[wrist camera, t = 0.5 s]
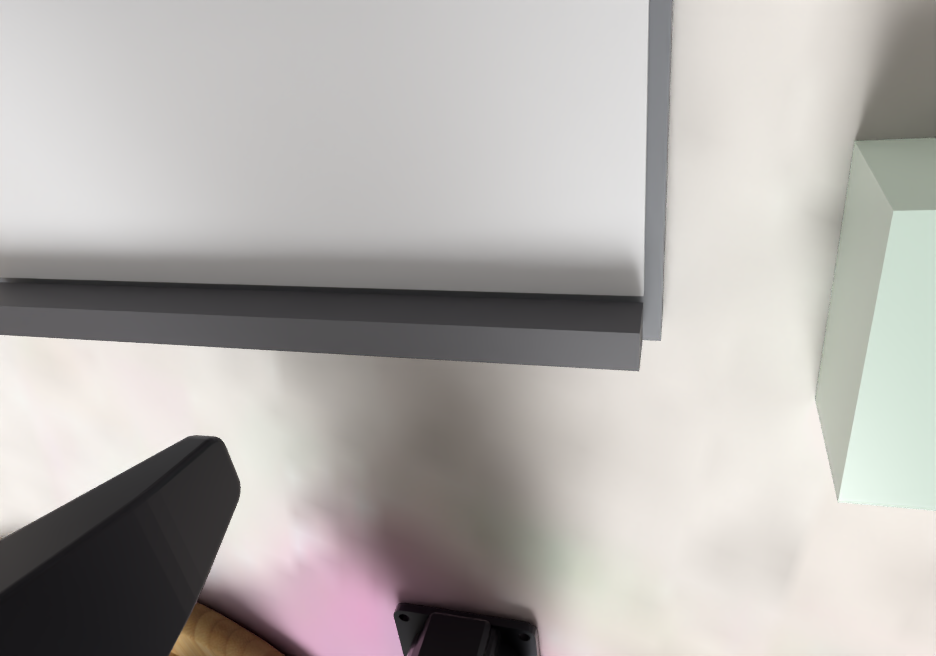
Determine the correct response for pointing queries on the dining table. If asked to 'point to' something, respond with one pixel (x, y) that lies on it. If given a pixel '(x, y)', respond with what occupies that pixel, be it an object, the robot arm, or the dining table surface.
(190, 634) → the wooden plate with food
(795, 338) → the dining table surface
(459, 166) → the rail board
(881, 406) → the block
